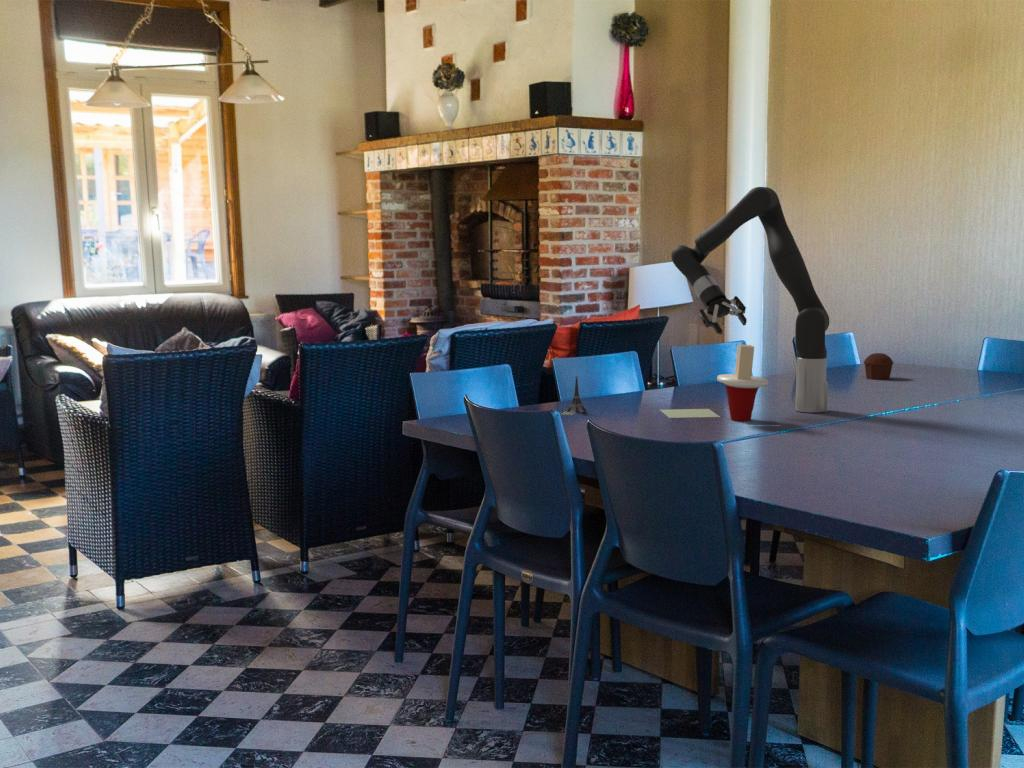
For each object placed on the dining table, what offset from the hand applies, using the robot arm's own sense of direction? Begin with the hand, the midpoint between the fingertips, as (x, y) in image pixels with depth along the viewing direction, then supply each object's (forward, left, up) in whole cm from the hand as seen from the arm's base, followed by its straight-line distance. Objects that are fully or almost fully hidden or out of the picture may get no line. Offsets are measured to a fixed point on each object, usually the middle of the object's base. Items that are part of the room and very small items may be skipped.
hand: (733, 328), depth 330 cm
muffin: (-78, -75, -27) cm, 111 cm away
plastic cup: (+2, +21, -27) cm, 34 cm away
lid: (+2, +21, -15) cm, 26 cm away
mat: (+15, +7, -27) cm, 32 cm away
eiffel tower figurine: (+51, -2, -27) cm, 58 cm away
